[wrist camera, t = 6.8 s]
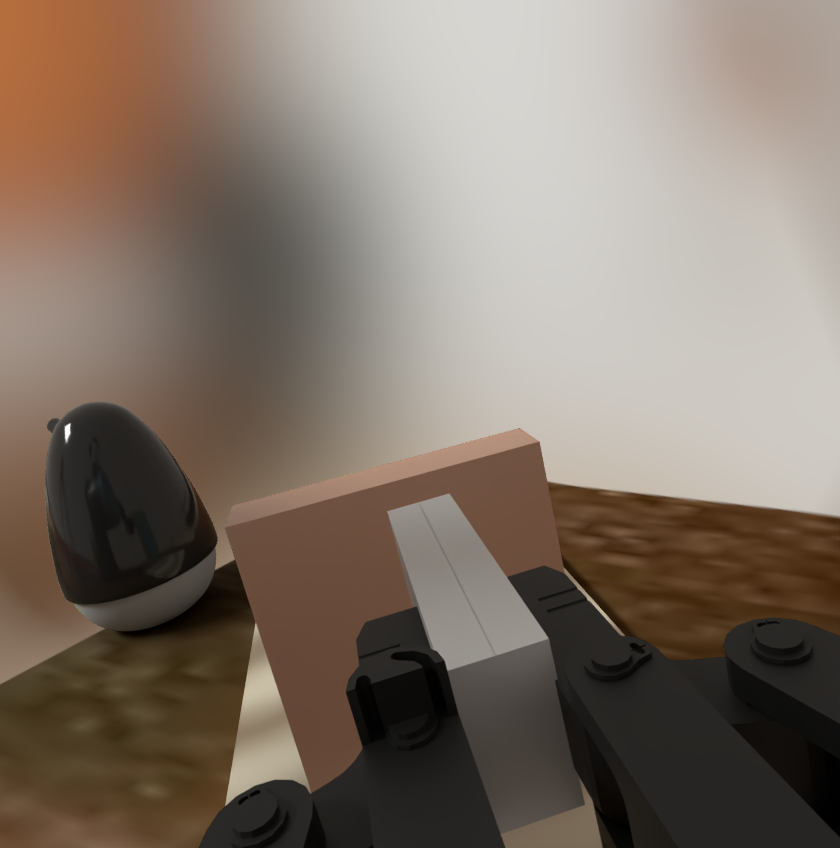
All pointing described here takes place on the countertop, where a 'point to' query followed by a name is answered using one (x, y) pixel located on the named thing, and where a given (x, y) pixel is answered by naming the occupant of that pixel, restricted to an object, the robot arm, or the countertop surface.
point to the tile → (370, 568)
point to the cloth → (279, 760)
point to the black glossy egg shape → (124, 520)
